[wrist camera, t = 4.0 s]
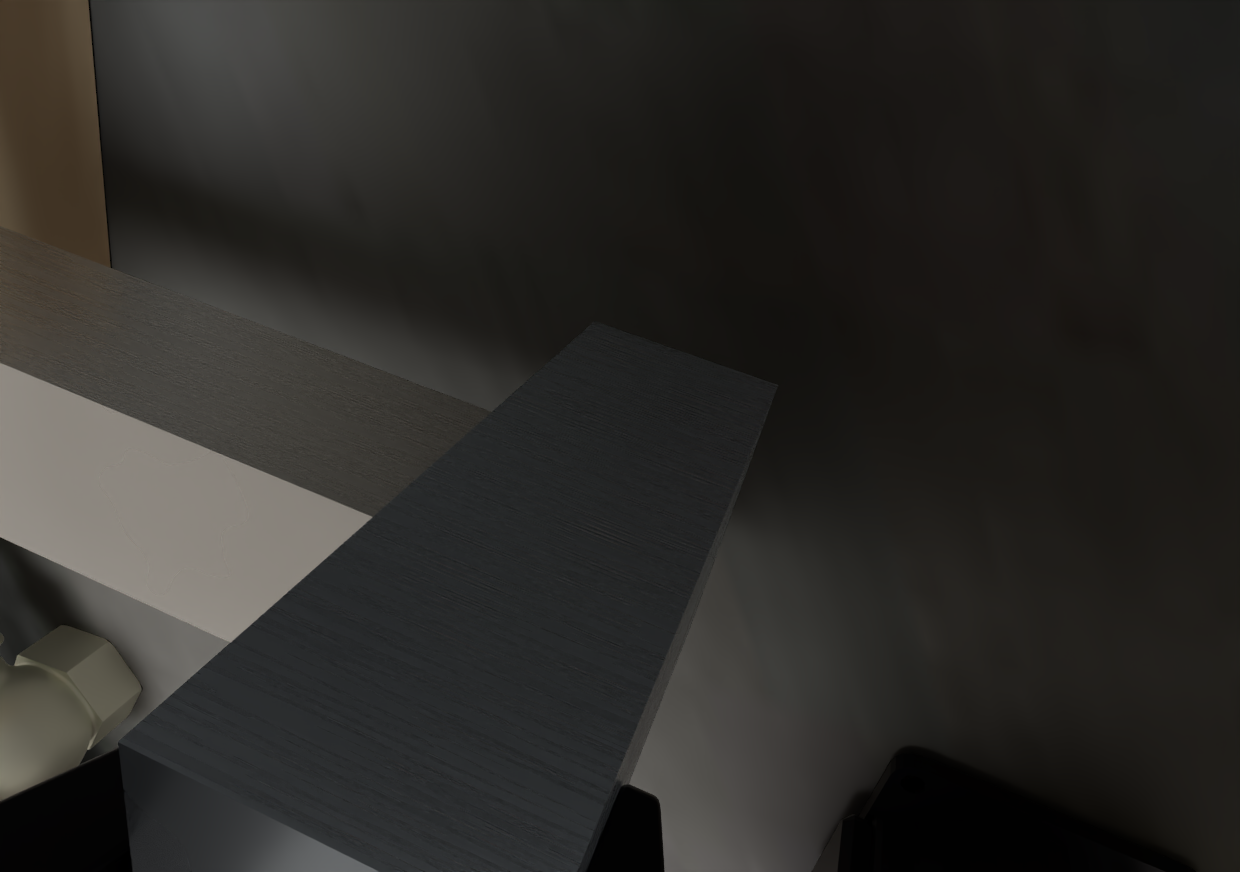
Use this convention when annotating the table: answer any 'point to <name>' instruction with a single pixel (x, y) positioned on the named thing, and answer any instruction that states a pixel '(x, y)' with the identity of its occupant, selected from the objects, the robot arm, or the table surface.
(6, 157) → the wooden block
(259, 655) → the pale grey block
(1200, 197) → the table surface
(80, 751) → the valve
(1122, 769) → the table surface
